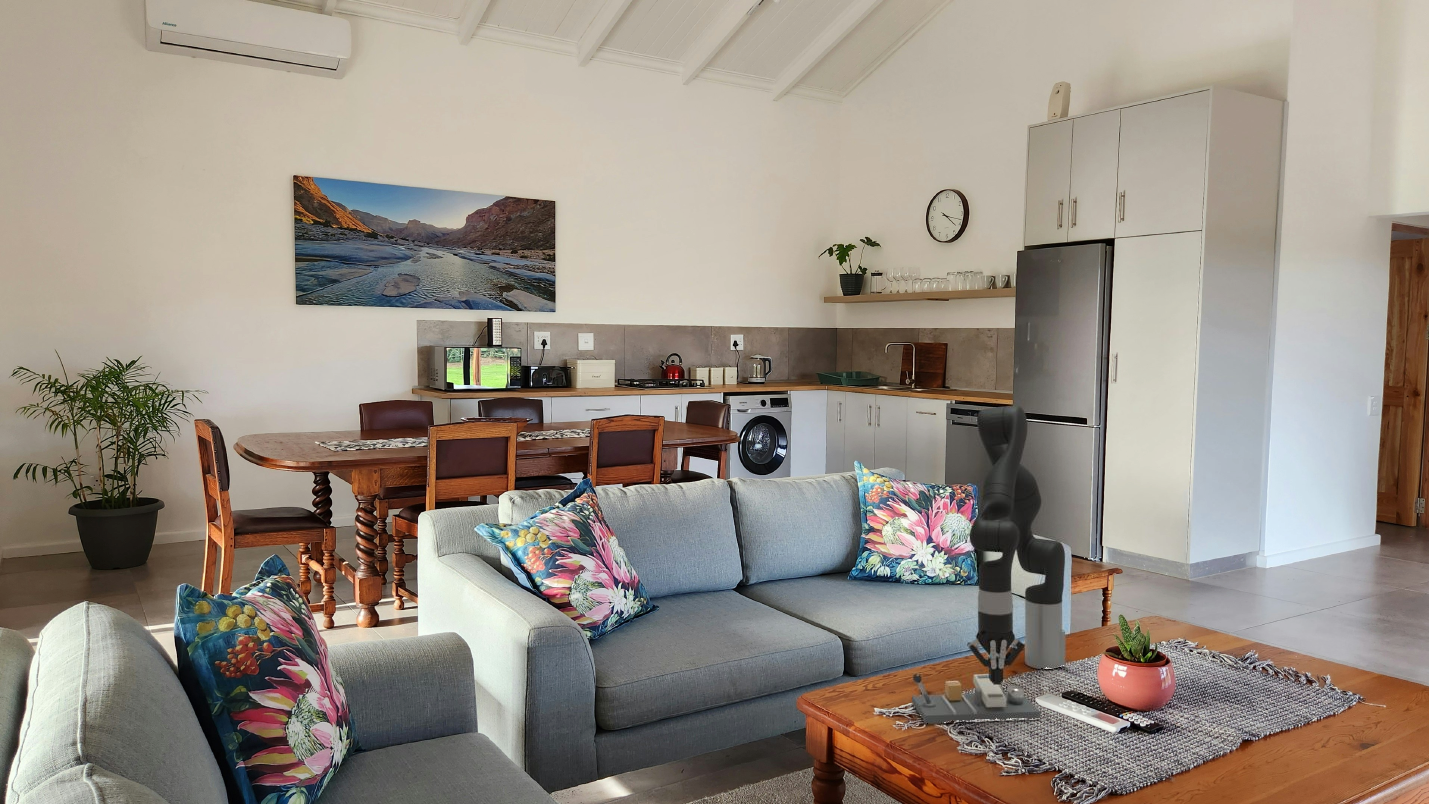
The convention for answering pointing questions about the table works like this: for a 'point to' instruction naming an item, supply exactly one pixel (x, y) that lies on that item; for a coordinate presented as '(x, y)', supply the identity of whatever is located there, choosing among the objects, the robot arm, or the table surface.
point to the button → (1015, 694)
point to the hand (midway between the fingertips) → (995, 683)
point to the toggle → (921, 687)
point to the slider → (953, 690)
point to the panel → (970, 708)
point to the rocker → (989, 691)
